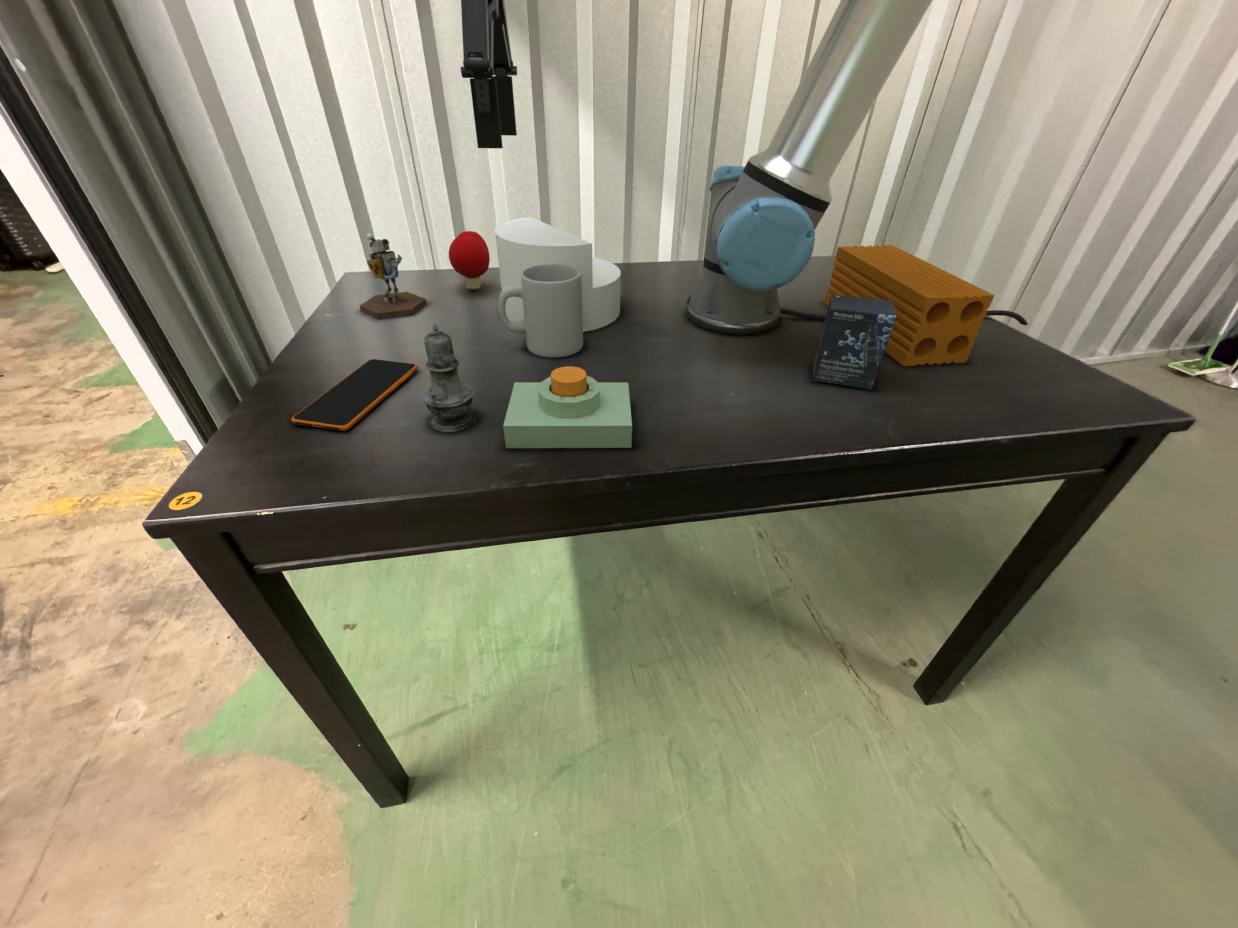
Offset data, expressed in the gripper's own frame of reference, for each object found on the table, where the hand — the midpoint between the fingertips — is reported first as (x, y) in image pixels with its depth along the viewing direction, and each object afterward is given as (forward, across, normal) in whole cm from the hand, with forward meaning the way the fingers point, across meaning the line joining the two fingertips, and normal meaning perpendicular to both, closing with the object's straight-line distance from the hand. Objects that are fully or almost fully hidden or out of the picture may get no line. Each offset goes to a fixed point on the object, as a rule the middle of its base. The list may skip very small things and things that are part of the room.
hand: (499, 141), depth 69 cm
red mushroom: (+27, +23, +11) cm, 37 cm away
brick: (+27, +5, -60) cm, 66 cm away
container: (+27, +13, -6) cm, 31 cm away
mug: (+27, -2, -4) cm, 27 cm away
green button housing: (+27, -24, -9) cm, 37 cm away
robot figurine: (+27, +14, +23) cm, 38 cm away
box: (+27, -12, -46) cm, 55 cm away
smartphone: (+27, -17, +18) cm, 36 cm away
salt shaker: (+27, -23, +5) cm, 36 cm away
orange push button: (+22, -24, -9) cm, 34 cm away
